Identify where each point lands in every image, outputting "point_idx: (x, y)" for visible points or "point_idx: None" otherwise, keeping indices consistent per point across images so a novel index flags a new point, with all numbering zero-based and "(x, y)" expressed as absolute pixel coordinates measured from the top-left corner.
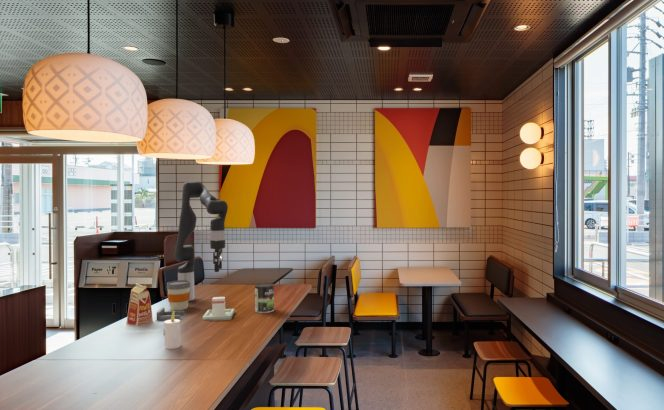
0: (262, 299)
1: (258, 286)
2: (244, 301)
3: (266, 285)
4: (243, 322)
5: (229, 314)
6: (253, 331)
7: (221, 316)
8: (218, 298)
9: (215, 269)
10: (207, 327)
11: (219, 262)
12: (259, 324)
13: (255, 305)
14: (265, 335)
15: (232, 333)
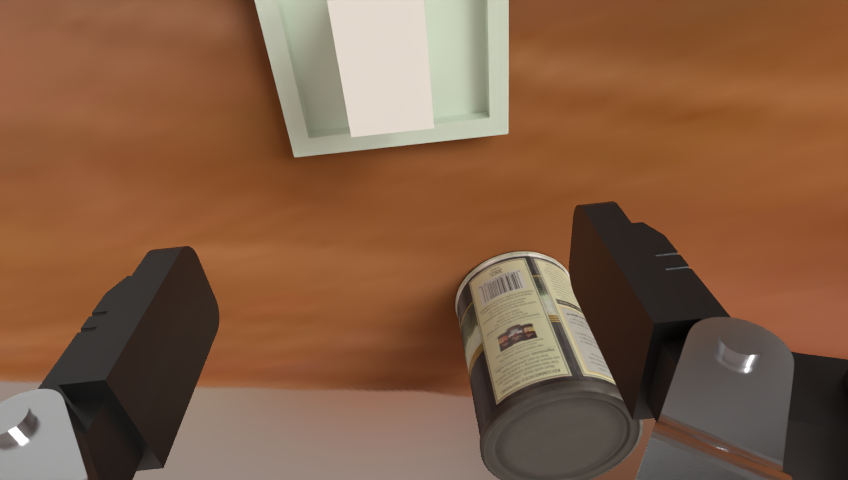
0: (468, 364)
1: (521, 417)
2: (838, 120)
3: (550, 454)
4: (246, 237)
5: (332, 137)
6: (85, 319)
7: (277, 86)
8: (353, 77)
9: (104, 312)
10: (67, 15)
11: (637, 362)
12: (220, 322)
13: (505, 282)
14: (41, 376)
15: (4, 227)
